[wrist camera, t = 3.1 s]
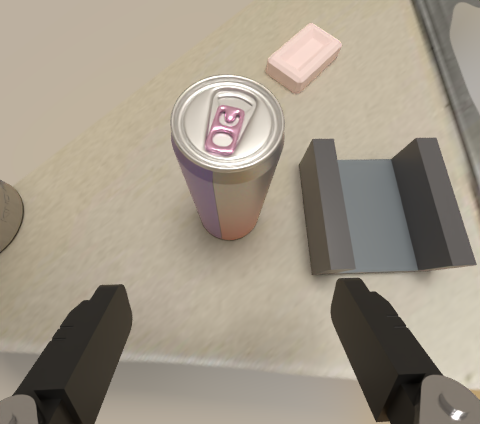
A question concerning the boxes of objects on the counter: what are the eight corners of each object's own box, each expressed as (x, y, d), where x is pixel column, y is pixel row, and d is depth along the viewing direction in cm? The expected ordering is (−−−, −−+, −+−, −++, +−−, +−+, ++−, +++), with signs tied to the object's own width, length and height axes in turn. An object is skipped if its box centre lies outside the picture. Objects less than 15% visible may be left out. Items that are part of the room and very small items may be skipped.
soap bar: (337, 58, 34) (345, 41, 32) (295, 97, 32) (301, 82, 30) (306, 37, 35) (311, 19, 33) (263, 74, 33) (266, 57, 31)
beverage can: (193, 233, 26) (147, 156, 12) (210, 181, 28) (188, 60, 13) (250, 247, 26) (275, 187, 11) (263, 194, 27) (298, 85, 13)
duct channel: (430, 270, 25) (476, 265, 21) (312, 274, 25) (331, 269, 20) (403, 163, 29) (436, 137, 24) (299, 164, 29) (312, 139, 24)
